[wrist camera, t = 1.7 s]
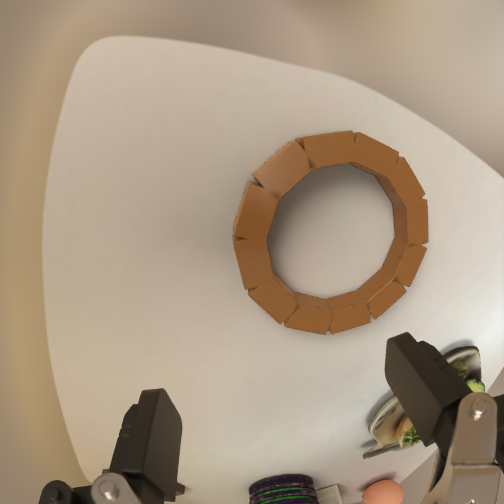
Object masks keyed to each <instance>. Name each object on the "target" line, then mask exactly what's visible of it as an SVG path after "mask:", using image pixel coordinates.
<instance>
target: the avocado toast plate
mask: <svg viewBox="0 0 504 504" xmlns="http://www.w3.org/2000/svg"><path fill="white" fill-rule="evenodd" d="M442 357H444V358H445V359H446V360H447V361H448V363H449V365H451V366H452V367H453V368H454V369H455V371H456V372H457V373H458V374H459V375H460V376H461V378H462V379H463V380H464V381H465V382H466V384H467V385H468V386H469V387H470V388H471V390H472V391H473V392H483V393H485V385H484V384H483V383H482V381H481V366H480V365H481V362H480V354H479V350H478V348H477V347H475V346H465V347H458V348H455V349H453V350H451V351H450V352H448V353H446V354H445V355H443V356H442ZM368 429H369V432H370V433H371V434H372V436H373V437H374V438H375V439H376V441H377V443H376V445H375V446H374V447H373V448H372V449H371V450H369V451H368V452H366V453H365V454H364V455H363V459H366V458H370V457H373V456H376V455H379V454H382V453H384V452H387V451H398V450H403V449H407V448H409V447H412V446H414V445H415V444H417V443H419V442H420V441H422V440H421V438H420V437H419V435H418V433H417V431H416V430H415V428H414V426H413V424H412V423H411V421H410V419H409V418H408V416H407V414H406V413H405V411H404V409H403V407H402V406H401V404H400V402H399V401H398V399H397V397H396V396H394V397H392V398H391V399H390V400H389V401H387V402H386V403H385V404H384V405H383V406H382V407H381V409H380V410H379V411H378V413H377V414H376V415H375V417H374V418H373V420H372V421H371V423H370V425H369V428H368Z"/></svg>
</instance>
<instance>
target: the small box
mask: <svg viewBox="0 0 504 504" xmlns="http://www.w3.org/2000/svg"><path fill="white" fill-rule="evenodd" d="M316 493H317V497H318V502H319V503H320V504H343V502H342V498H341V495H340V492H339V489H338V485H334V486H331V487H328V488H324V489H321V490H317V491H316Z"/></svg>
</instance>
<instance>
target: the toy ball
mask: <svg viewBox="0 0 504 504" xmlns="http://www.w3.org/2000/svg"><path fill="white" fill-rule="evenodd" d="M362 498H363V504H401V502H402V499H403V490H402V488H401V486H400V485H399V484H398V483H396V482H395V481H391V480H382V481H378V482H375V483H373V484H372V485H370V486H369V487H368V488H367V489H366V490H365V492H364V493H363V495H362Z"/></svg>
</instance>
